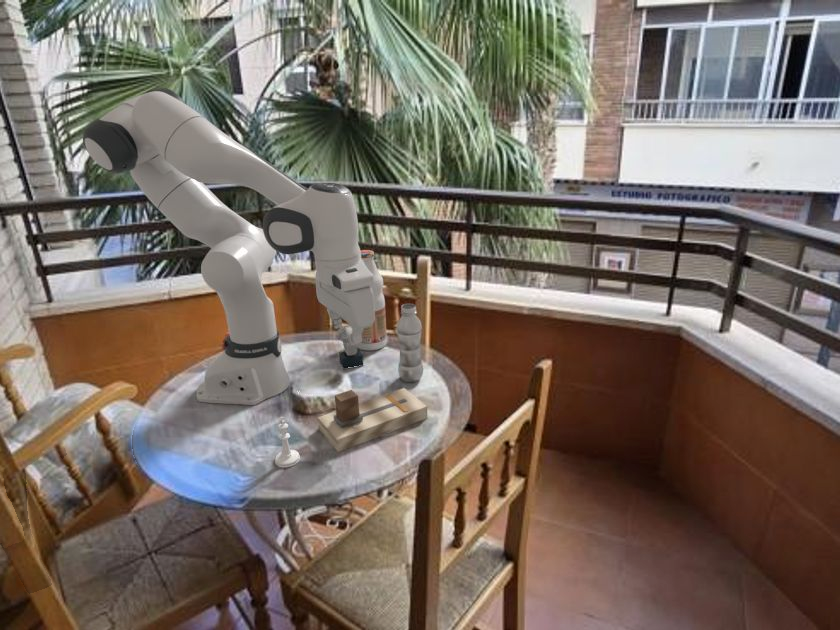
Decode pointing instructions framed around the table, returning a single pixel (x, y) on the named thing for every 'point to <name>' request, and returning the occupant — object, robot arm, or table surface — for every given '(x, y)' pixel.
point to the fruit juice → (376, 333)
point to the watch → (349, 349)
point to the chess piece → (286, 448)
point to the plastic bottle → (409, 344)
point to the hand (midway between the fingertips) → (346, 334)
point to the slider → (347, 409)
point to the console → (374, 419)
